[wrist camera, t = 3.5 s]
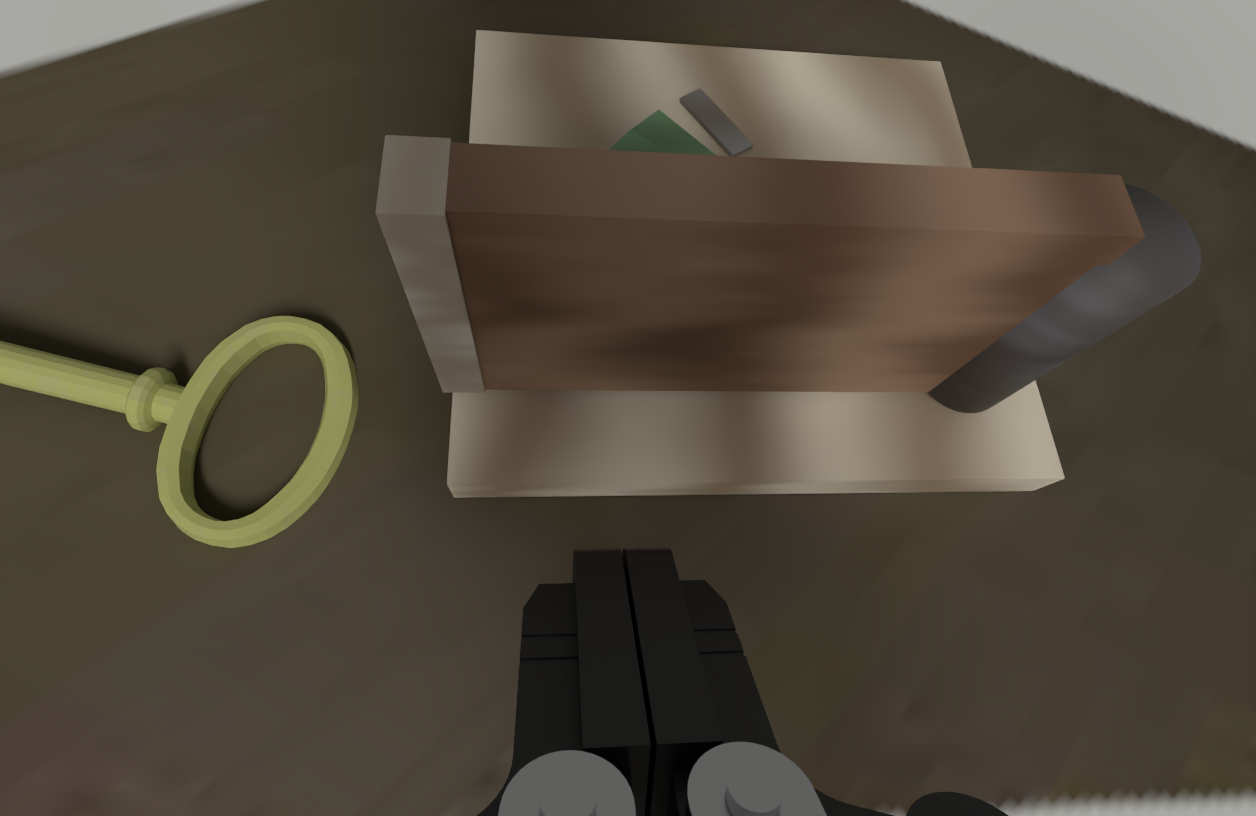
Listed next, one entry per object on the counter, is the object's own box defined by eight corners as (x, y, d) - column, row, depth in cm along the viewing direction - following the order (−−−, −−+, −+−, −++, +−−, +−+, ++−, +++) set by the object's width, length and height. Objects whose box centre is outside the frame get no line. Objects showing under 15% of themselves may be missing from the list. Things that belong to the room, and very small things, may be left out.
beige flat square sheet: (453, 497, 20) (446, 482, 18) (480, 63, 27) (475, 25, 25) (1032, 490, 22) (1069, 476, 21) (921, 91, 29) (943, 57, 27)
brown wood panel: (441, 411, 19) (371, 241, 11) (448, 319, 20) (388, 110, 13) (1014, 413, 21) (1266, 269, 14) (991, 330, 22) (1212, 155, 15)
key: (-51, 350, 20) (-114, 315, 18) (364, 329, 22) (346, 295, 20) (-117, 587, 18) (-199, 576, 16) (359, 540, 20) (339, 525, 18)
